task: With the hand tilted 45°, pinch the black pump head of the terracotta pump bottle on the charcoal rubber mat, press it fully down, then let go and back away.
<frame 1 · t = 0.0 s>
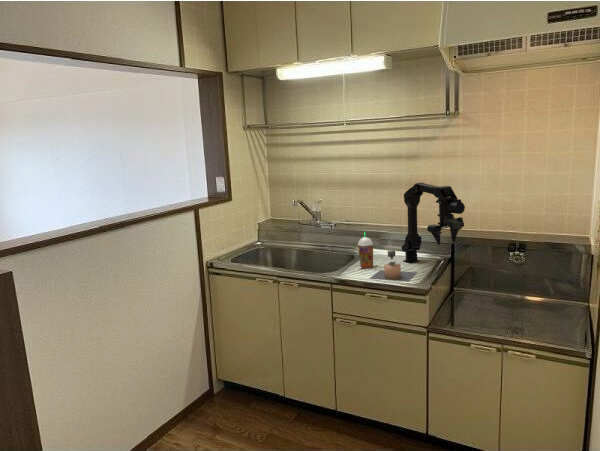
hand: (446, 243, 223), 15 cm above the countertop, tool pointing down, fingers open, 9 cm apart
pump bottle: (392, 277, 222), resting on drip mat
drip mat: (393, 277, 225), on the countertop
smoothie: (367, 268, 245), on the countertop
pump head: (390, 255, 220), point 12 cm above the countertop, slide at 0.0 cm
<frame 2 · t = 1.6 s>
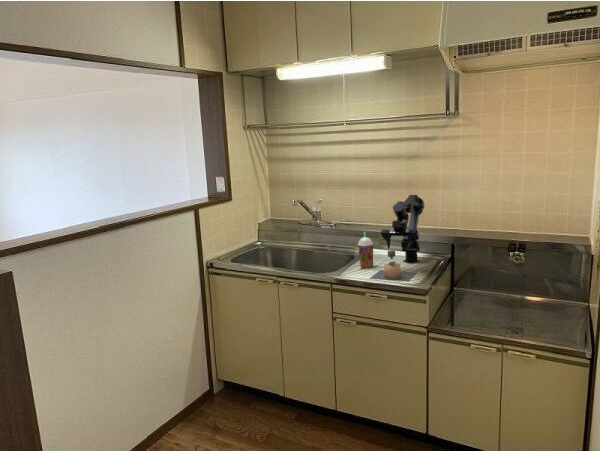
hand: (397, 248, 227), 13 cm above the countertop, tool tilted 45°, fingers open, 9 cm apart
nothing on the countertop moved.
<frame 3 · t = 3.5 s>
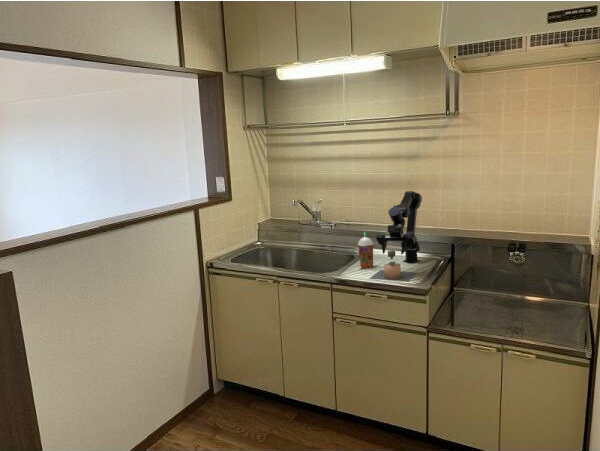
hand: (392, 253, 222), 12 cm above the countertop, tool tilted 45°, fingers open, 9 cm apart
nothing on the countertop moved.
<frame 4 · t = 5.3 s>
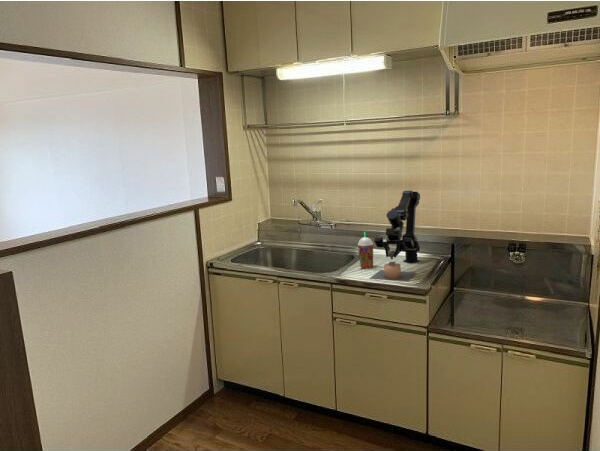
hand: (390, 257, 219), 11 cm above the countertop, tool tilted 45°, fingers closed on pump head, 4 cm apart
pump head: (390, 255, 220), point 12 cm above the countertop, slide at 0.0 cm, touching gripper
everything else where it was.
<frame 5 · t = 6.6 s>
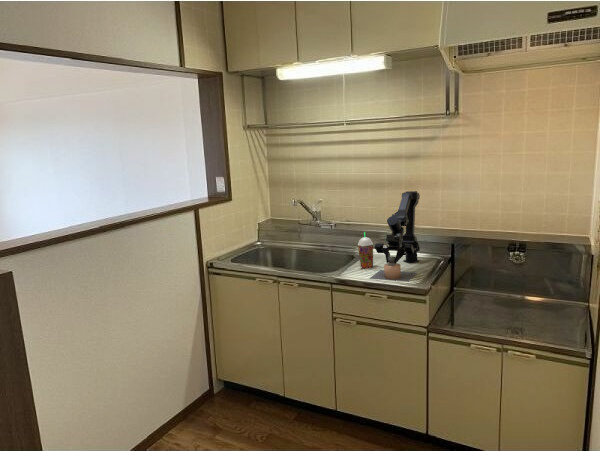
hand: (391, 263, 220), 8 cm above the countertop, tool tilted 45°, fingers closed on pump head, 4 cm apart
pump head: (391, 261, 220), point 9 cm above the countertop, slide at 3.1 cm, touching gripper
everything else where it was.
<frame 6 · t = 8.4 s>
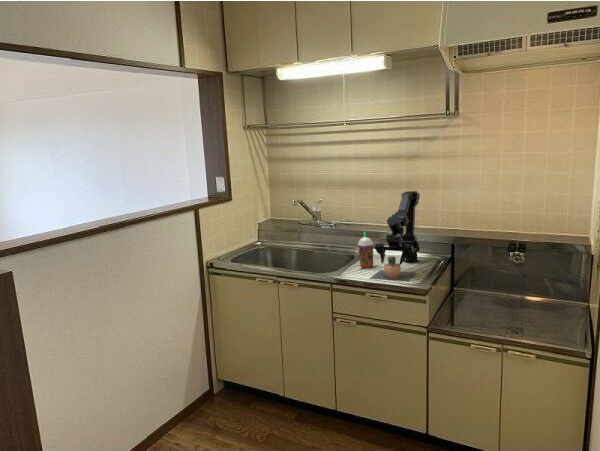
hand: (391, 263, 220), 8 cm above the countertop, tool tilted 45°, fingers open, 9 cm apart
pump head: (391, 261, 220), point 9 cm above the countertop, slide at 3.1 cm
everything else where it was.
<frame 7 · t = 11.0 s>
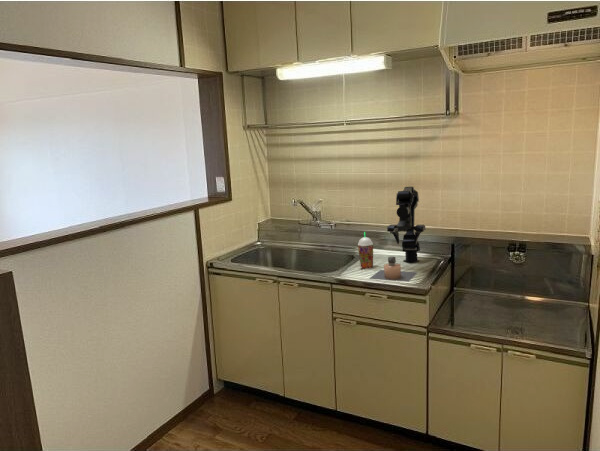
hand: (406, 244, 236), 13 cm above the countertop, tool pointing down, fingers open, 9 cm apart
nothing on the countertop moved.
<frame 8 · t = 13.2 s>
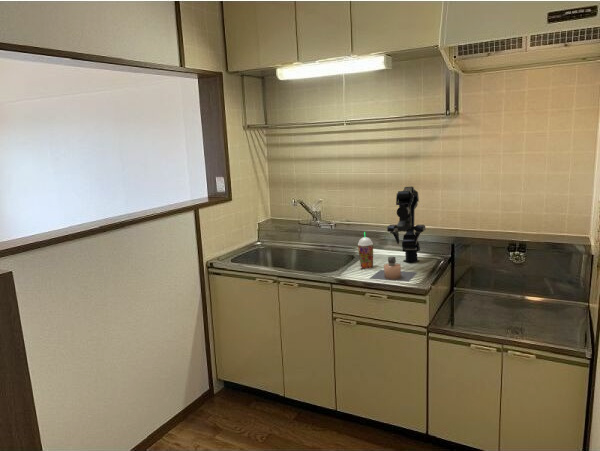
hand: (406, 244, 236), 13 cm above the countertop, tool pointing down, fingers open, 9 cm apart
nothing on the countertop moved.
at the end: pump head slide at 3.1 cm; the gripper is holding nothing; smoothie moved 0.2 cm from its start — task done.
